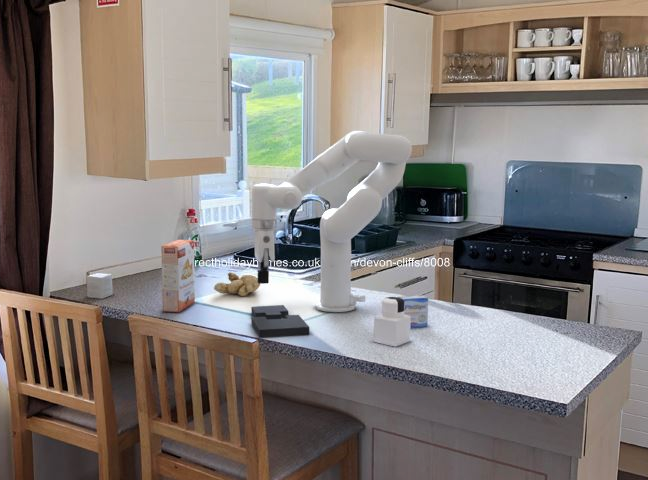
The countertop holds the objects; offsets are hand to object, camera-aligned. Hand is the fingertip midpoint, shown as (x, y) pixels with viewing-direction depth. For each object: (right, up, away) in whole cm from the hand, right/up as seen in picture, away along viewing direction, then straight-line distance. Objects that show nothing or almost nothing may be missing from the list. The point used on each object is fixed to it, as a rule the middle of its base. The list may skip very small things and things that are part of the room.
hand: (263, 282), depth 238 cm
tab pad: (+3, -10, -8) cm, 13 cm away
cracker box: (-27, -8, +4) cm, 28 cm away
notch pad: (+6, -13, -21) cm, 26 cm away
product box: (-56, -5, +19) cm, 60 cm away
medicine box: (+44, -12, -17) cm, 49 cm away
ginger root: (-9, -4, +25) cm, 27 cm away
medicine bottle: (+37, -15, -33) cm, 52 cm away
